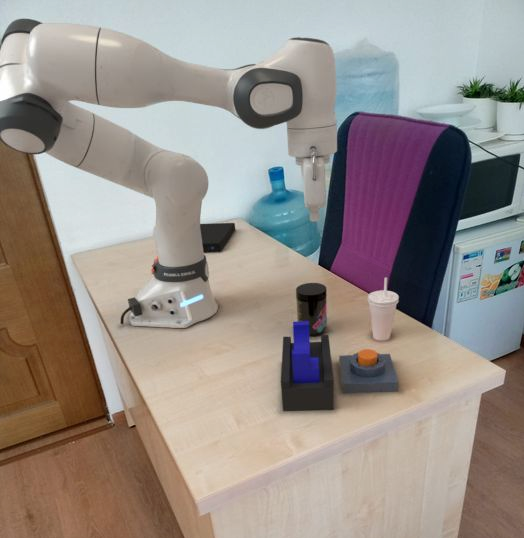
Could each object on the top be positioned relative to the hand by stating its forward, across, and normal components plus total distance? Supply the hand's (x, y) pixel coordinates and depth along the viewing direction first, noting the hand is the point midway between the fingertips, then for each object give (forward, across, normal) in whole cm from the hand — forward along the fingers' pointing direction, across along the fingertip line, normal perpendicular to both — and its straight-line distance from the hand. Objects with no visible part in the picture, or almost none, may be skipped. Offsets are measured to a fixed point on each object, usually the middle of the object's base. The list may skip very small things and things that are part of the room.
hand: (314, 219), depth 97 cm
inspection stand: (+27, -17, +3) cm, 32 cm away
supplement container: (+27, +5, +1) cm, 28 cm away
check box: (+27, -15, -9) cm, 32 cm away
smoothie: (+27, +1, -14) cm, 31 cm away
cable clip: (+22, -17, +3) cm, 28 cm away
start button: (+24, -15, -9) cm, 29 cm away
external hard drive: (+27, +75, +36) cm, 88 cm away
